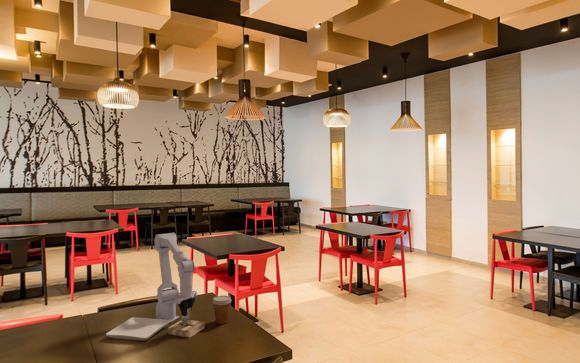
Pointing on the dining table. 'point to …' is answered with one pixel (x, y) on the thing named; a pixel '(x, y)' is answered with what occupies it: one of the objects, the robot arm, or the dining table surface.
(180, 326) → the jack base
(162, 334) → the dining table surface
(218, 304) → the disposable coffee cup
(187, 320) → the post
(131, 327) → the salad plate
